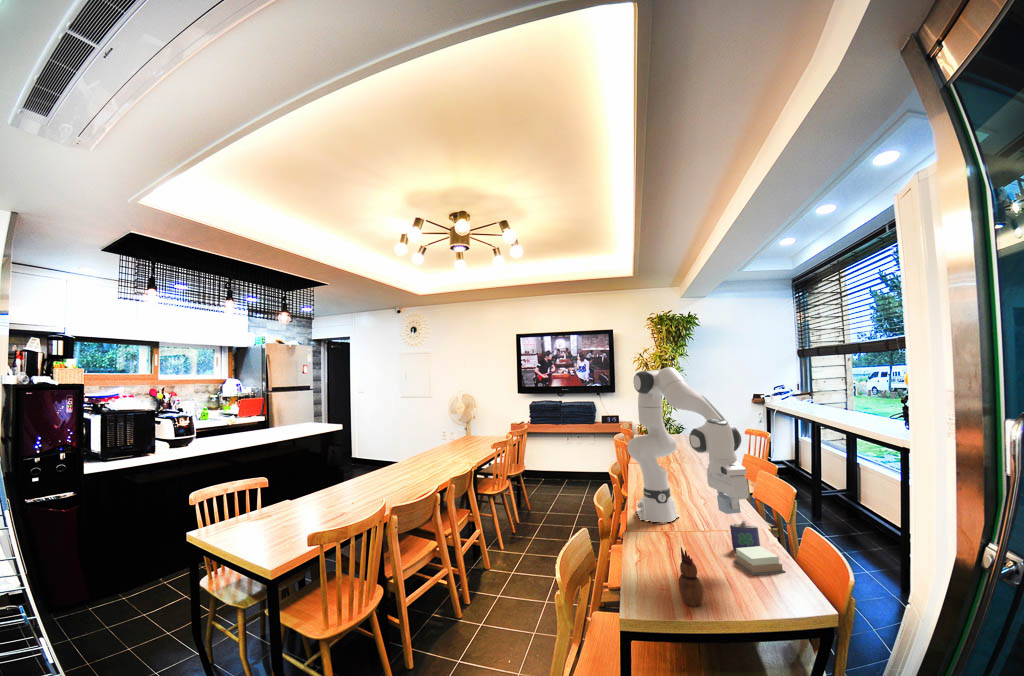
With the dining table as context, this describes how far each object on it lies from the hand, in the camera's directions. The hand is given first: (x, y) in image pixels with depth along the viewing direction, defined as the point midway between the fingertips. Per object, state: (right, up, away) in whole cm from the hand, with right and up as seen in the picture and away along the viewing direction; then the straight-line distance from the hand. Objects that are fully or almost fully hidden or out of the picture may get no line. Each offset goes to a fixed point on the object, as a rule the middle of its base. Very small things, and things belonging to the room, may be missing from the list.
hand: (729, 506), depth 141 cm
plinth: (+8, -19, -4) cm, 21 cm away
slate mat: (+8, -19, -4) cm, 21 cm away
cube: (0, -2, 0) cm, 2 cm away
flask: (+11, -20, +8) cm, 24 cm away
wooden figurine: (-24, -19, -24) cm, 38 cm away
